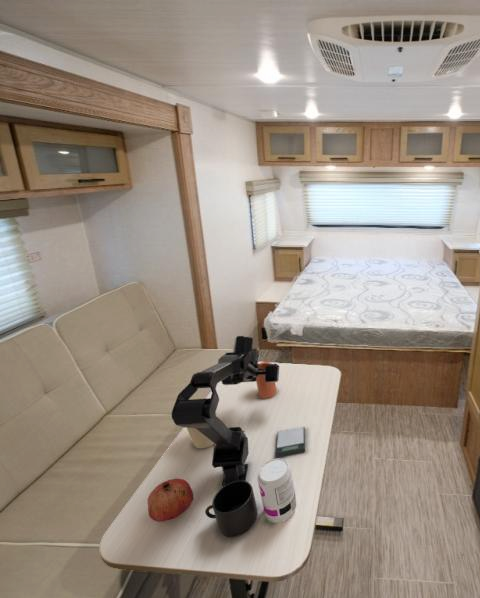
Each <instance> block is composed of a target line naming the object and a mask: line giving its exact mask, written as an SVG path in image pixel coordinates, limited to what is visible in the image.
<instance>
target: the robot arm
mask: <svg viewBox="0 0 480 598" xmlns="http://www.w3.org/2000/svg"><path fill="white" fill-rule="evenodd" d="M253 347H254V337H249V336H244V335H237V336H236V337H235V338H234V342H233V349H232V350H233V351H231V352H225V353H224V354H223V355H222V356H220V357H219V358H218V359H217V363H216V364H214V365H211V366H210V367H208V368H205V369H203V370H202V371H197V372H196V373H194V374H192V376H191V379H190V381H189V383H188V384H187V385H186V386H185V387H184V388H183V389H182V390H181V391H180V392H179V393H178V395H177V396H176V400H175V402H174V404H173V407H172V410H171V419H172V421H173V423H174V425H176V426H177V427H181V428H186V429H187V428H195V429H197V430H198V431H199V432H201V433H202V434H203V435H205V436H206V437H207V438H208V439H210V440H211V441H212V442H213V443H214V444H213V452H212V461H211V466H212V468H214V469H215V468H221V470H222V473H223V477H222V480H221V487H223V486H225V485H227V484H228V483H231V482H233V481H238V480H243V481H247V474H248V470H249V464H248V463H246V461H247V458H248V456H249V453H250V452H249V439H248V436H247V434H245V430H243V428H242V427H240V426H233V427H232V426H231V427H229V426H227V425H226V423H224V422H223V421H222V420H221V419H220V418H219V417H218V416H217V410H218V409H217V408H218V405H219V402H220V397H219V394H218V391H217V385H218V383H220V382H221V384H222V385H223V386H233V385H236V386H237V385H239V384H241V383H254V382H255V383H257V382H256V380H257V377H258V375H265V381H266V382H267V383H269V382H275V383H278V382H279V378H280V365H279V364H278V363H271V364H267V365H266V368H261V369H258V368H259V360H260V359H259V358H260V352H259V351H258V348H253ZM259 371H263V372H259ZM199 389H210V391H211V394H210V395H211V396H210V398H194V399H191V398H192V397H193V395H195V394H196V393H197V391H198V390H199ZM215 413H216V415H215Z"/></svg>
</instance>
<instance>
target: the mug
mask: <svg viewBox="0 0 480 598" xmlns="http://www.w3.org/2000/svg"><path fill="white" fill-rule="evenodd" d="M211 509H213V513H211V512H210V510H211ZM258 511H259V510H258V507H257V502H256V497H255V493H254V488H253V486H252V484H251V483H250V482H249V481H247V480H246V481H244V480H238V481H233V482H231V483H228V484H227V485H225V486H221V488H220V489H218V491H217V492H216V493H215V495H214V497H213V499H212V503H211V504H210V505H209V506H207V507H206V509H205V510H204V513H205V516H206V517H207V518H210V519H215V521H216V524H217V526H218V531H219V532H220V534H221V535H222V536H225V537H228V538H236V537H240V536H242V535H244V534H245V533H247V532H248V531H249V530H250V529H251V528H252V527H253V526H254V525H255V523H256V521H257V518H258V513H259V512H258Z"/></svg>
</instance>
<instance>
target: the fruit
mask: <svg viewBox="0 0 480 598" xmlns="http://www.w3.org/2000/svg"><path fill="white" fill-rule="evenodd" d="M194 499H195V495H194V491H193V489H192V487H191V485H190V483H189V482H188V481H187V480H186V479H183V478H178V477H177V478H170V479H168V480H165V481H163V482H161V483H160V484H158V485H157V486H155V487H154V489H153V490H152V491H151V492H150V493H149V495H148V497H147V511H148V512H147V513H148V517H149V518H150V519H151V520H152V521H154V522H158V523H163V522H169V521H172V520H174V519H176V518H178V517H180V516H181V515H183V514H184V513H185V512H186V511H187V510H188V509H189V508H190V506H191V505H192V504H193V501H194Z"/></svg>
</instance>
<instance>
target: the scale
mask: <svg viewBox="0 0 480 598" xmlns="http://www.w3.org/2000/svg"><path fill="white" fill-rule="evenodd" d="M276 434H277V435H276V445H275V458H281V457H286V456H292V455H297V454H301V453H305V452H306V429H305V426H299V427H294V428H288V429H283V430H278V431H277V433H276Z"/></svg>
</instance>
